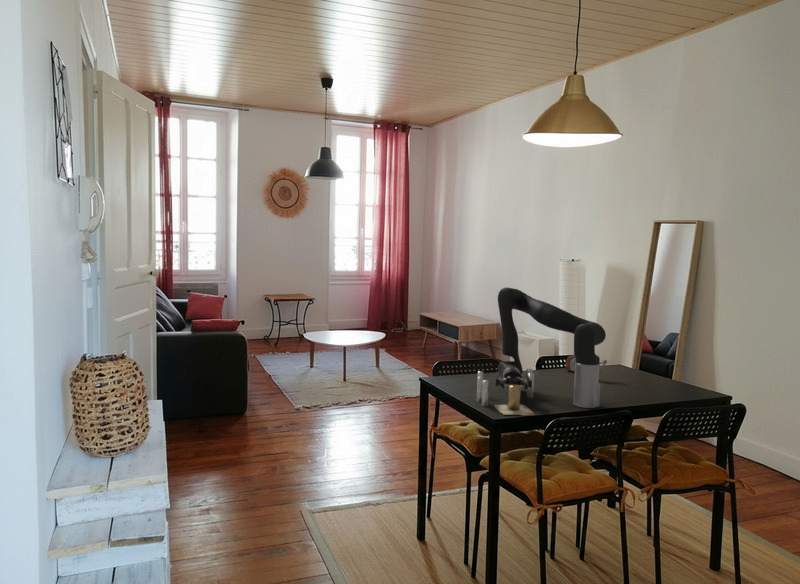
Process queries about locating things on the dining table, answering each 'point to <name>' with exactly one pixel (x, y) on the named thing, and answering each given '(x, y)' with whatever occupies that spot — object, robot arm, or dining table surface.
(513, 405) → the bronze spacer
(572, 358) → the tin
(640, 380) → the dining table surface
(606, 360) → the mechanical component
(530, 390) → the steel posts
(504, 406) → the birch pad
